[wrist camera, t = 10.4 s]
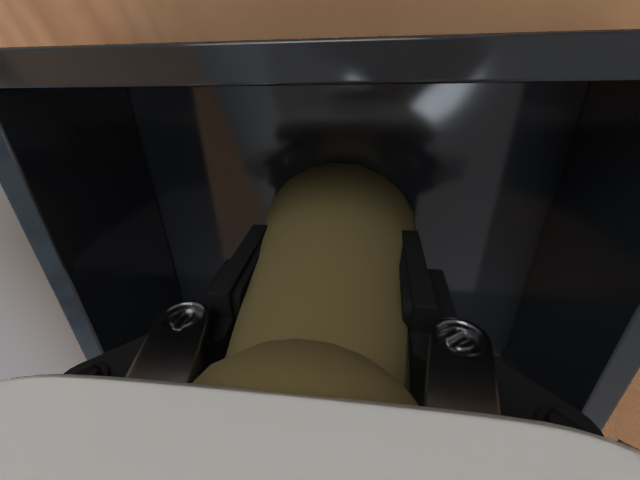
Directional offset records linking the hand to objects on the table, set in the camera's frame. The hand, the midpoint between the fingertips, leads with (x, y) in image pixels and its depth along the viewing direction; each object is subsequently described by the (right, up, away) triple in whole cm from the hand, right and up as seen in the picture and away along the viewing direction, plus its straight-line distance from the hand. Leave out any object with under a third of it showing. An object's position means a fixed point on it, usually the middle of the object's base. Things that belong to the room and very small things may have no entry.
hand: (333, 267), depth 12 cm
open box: (0, +2, +3) cm, 3 cm away
